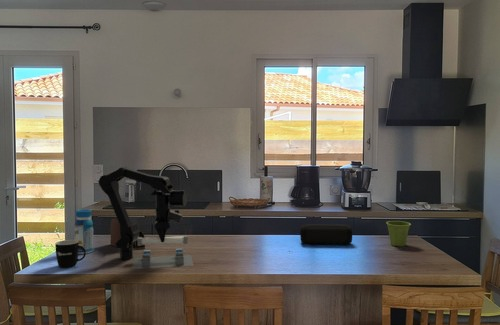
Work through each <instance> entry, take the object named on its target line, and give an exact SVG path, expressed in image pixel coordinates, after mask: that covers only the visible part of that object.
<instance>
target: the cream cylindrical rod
mask: <svg viewBox="0 0 500 325" xmlns="http://www.w3.org/2000/svg"><path fill="white" fill-rule="evenodd" d="M171 244H184V245H187V244H189V243H188V235H186V234H185V235H184V234H183V235H182V236H181V235H179V236H178V235H177V236H165V239H164V242H161V240H160V237H159V236H157V237H152V236H151V237H145V238H142V237H138V246H141V245H145V246H148V245H171Z"/></svg>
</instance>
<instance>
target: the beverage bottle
mask: <svg viewBox="0 0 500 325" xmlns="http://www.w3.org/2000/svg"><path fill="white" fill-rule="evenodd" d="M75 217H76V220H75V223H74V229H73V231H74V240H77V241H78V242H79V245H80V246H82V247H83V248H84V249H85V251H86V254H91V253H92V252H94V226H93V225H94V224H93V222H94V221H93V220H92V219H91V217H92V210H91V209H89V208H88V209H87V208H86V209H85V208H83V209H76V211H75ZM79 254H81V255H84V251H83V249H82V248H79V249H78V255H79Z"/></svg>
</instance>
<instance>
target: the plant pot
mask: <svg viewBox="0 0 500 325" xmlns="http://www.w3.org/2000/svg"><path fill="white" fill-rule="evenodd" d="M385 223H386V224H387V229H388V236H389V242H390V245H391V246H394V247H395V246H397V247H405V246H406V245H407V239H408V235H409V230H410V226H411V225H412V224H411V223H410V222H407V221H402V220H389V221H386V222H385Z"/></svg>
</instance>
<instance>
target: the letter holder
mask: <svg viewBox="0 0 500 325" xmlns="http://www.w3.org/2000/svg"><path fill="white" fill-rule="evenodd" d="M110 220H111V221H110V245H112V246H113V247H115V248H117V246H116V243H117V242H118V241H119V240H120V239H121V236H120V224H119V222H118V219H117V218H112V219H110ZM139 231H140V232H139V234H140V236H139V237H142V238H146V237H145V234H144V232H143V231H141V230H140V229H139ZM145 248H146V245H141V246H138V240H136V243H135V244H133V251H139V250H140V251H141V250H145ZM118 249H119V250H120V248H118Z"/></svg>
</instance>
